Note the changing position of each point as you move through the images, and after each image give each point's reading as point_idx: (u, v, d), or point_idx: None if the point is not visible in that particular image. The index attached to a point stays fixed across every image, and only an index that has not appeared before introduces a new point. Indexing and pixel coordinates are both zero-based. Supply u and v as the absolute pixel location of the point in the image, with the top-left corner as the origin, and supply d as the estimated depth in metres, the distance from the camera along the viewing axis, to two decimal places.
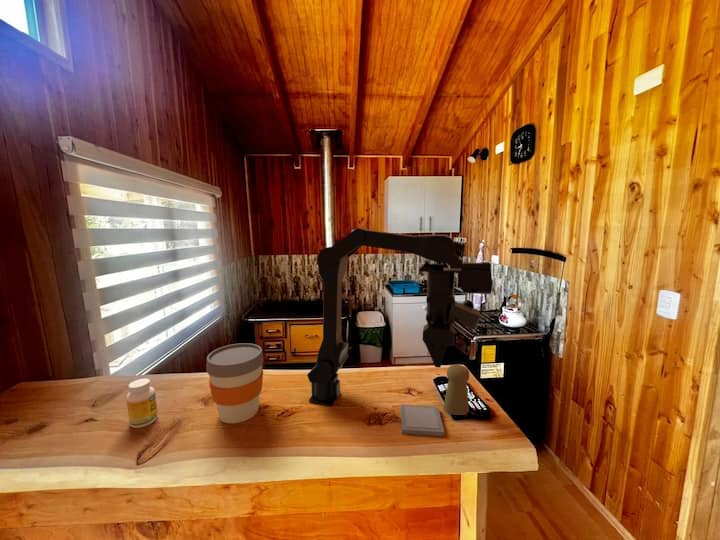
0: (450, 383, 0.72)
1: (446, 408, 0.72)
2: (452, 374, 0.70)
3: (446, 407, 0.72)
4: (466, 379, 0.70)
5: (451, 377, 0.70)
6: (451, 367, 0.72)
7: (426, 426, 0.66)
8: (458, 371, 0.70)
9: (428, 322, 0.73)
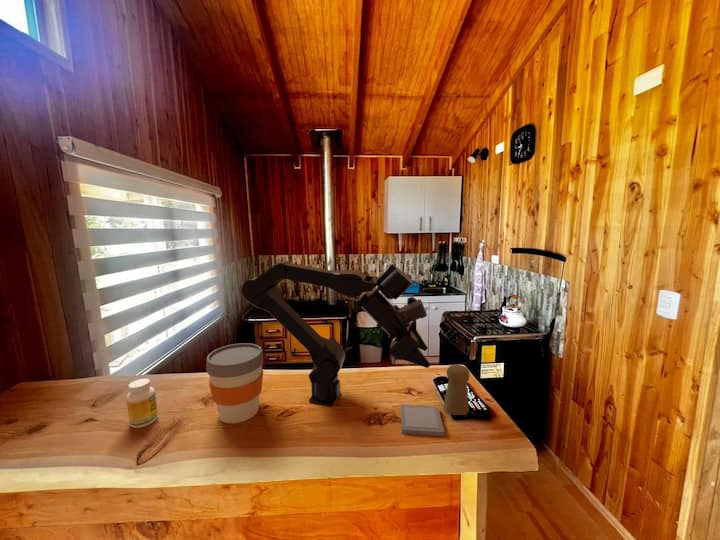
0: (450, 383, 0.72)
1: (446, 408, 0.72)
2: (452, 374, 0.70)
3: (446, 407, 0.72)
4: (466, 379, 0.70)
5: (451, 377, 0.70)
6: (451, 367, 0.72)
7: (426, 426, 0.66)
8: (458, 371, 0.70)
9: None
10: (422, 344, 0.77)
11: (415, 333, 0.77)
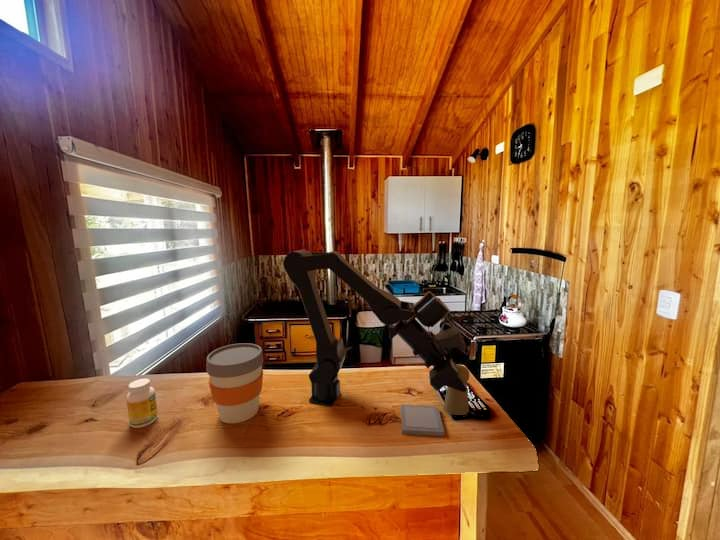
0: None
1: (446, 408, 0.72)
2: None
3: (446, 407, 0.72)
4: (466, 379, 0.70)
5: None
6: None
7: (426, 426, 0.66)
8: (458, 371, 0.70)
9: None
10: None
11: None
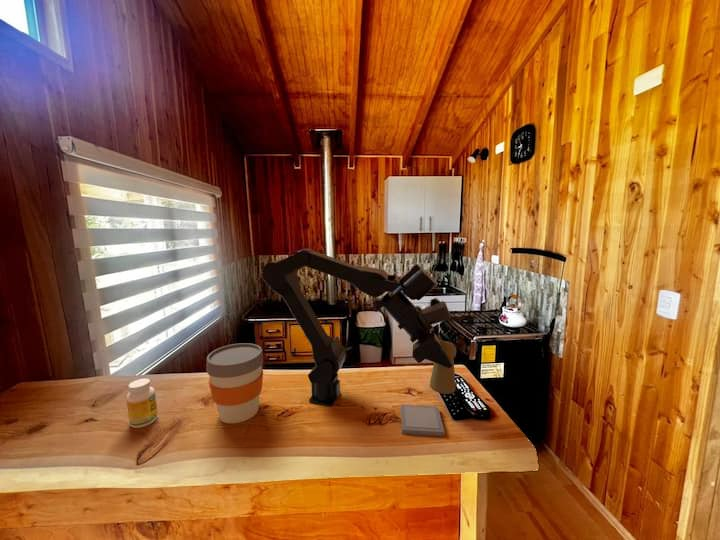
0: None
1: (432, 385, 0.70)
2: None
3: (432, 383, 0.70)
4: (452, 355, 0.68)
5: None
6: None
7: (426, 426, 0.66)
8: (444, 347, 0.68)
9: None
10: None
11: None
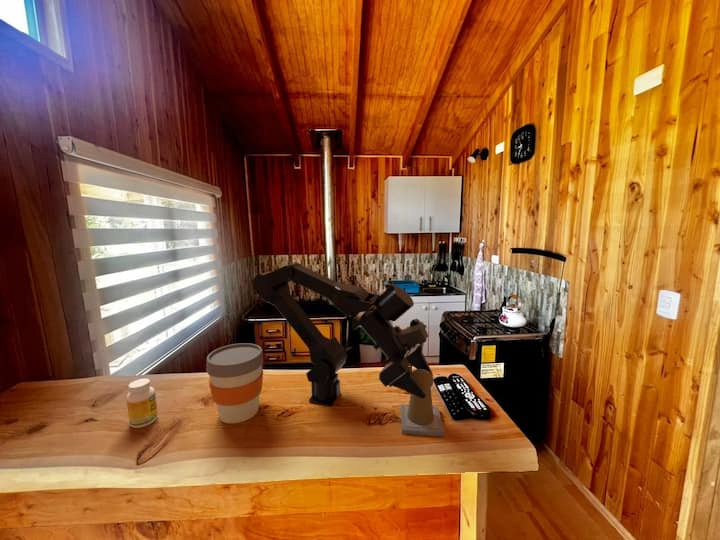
0: None
1: (408, 414, 0.68)
2: None
3: (408, 412, 0.68)
4: (427, 385, 0.65)
5: None
6: (414, 371, 0.68)
7: (426, 426, 0.66)
8: (419, 376, 0.66)
9: None
10: (427, 370, 0.71)
11: (420, 357, 0.72)
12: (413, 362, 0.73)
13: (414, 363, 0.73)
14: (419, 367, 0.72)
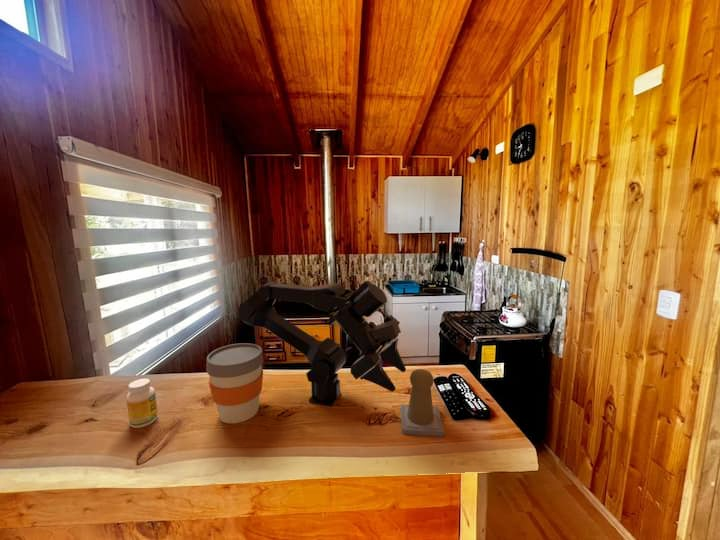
0: (412, 388, 0.67)
1: (408, 414, 0.68)
2: (412, 378, 0.66)
3: (408, 412, 0.68)
4: (427, 385, 0.65)
5: (411, 381, 0.66)
6: (414, 371, 0.68)
7: (426, 426, 0.66)
8: (419, 376, 0.66)
9: (380, 354, 0.76)
10: (400, 365, 0.74)
11: (394, 353, 0.74)
12: (388, 357, 0.75)
13: (388, 358, 0.75)
14: (393, 362, 0.74)
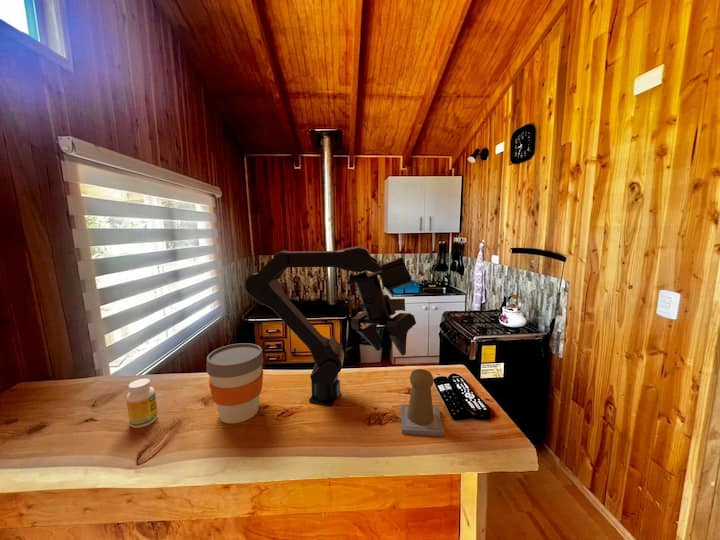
0: (412, 388, 0.68)
1: (408, 414, 0.68)
2: (412, 378, 0.66)
3: (408, 412, 0.68)
4: (427, 385, 0.65)
5: (411, 381, 0.66)
6: (414, 371, 0.68)
7: (426, 426, 0.66)
8: (419, 376, 0.66)
9: (363, 332, 0.77)
10: (378, 343, 0.79)
11: (375, 331, 0.79)
12: (369, 335, 0.78)
13: (368, 336, 0.78)
14: (372, 340, 0.78)
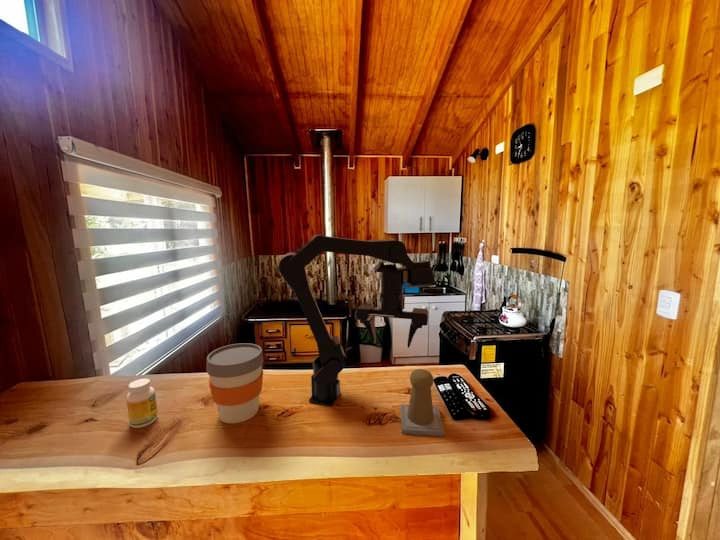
0: (412, 388, 0.67)
1: (408, 414, 0.68)
2: (412, 378, 0.66)
3: (408, 412, 0.68)
4: (427, 385, 0.65)
5: (411, 381, 0.66)
6: (414, 371, 0.68)
7: (426, 426, 0.66)
8: (419, 376, 0.66)
9: (370, 323, 0.78)
10: (375, 337, 0.81)
11: (374, 324, 0.81)
12: (372, 327, 0.79)
13: (371, 328, 0.79)
14: (373, 332, 0.80)
